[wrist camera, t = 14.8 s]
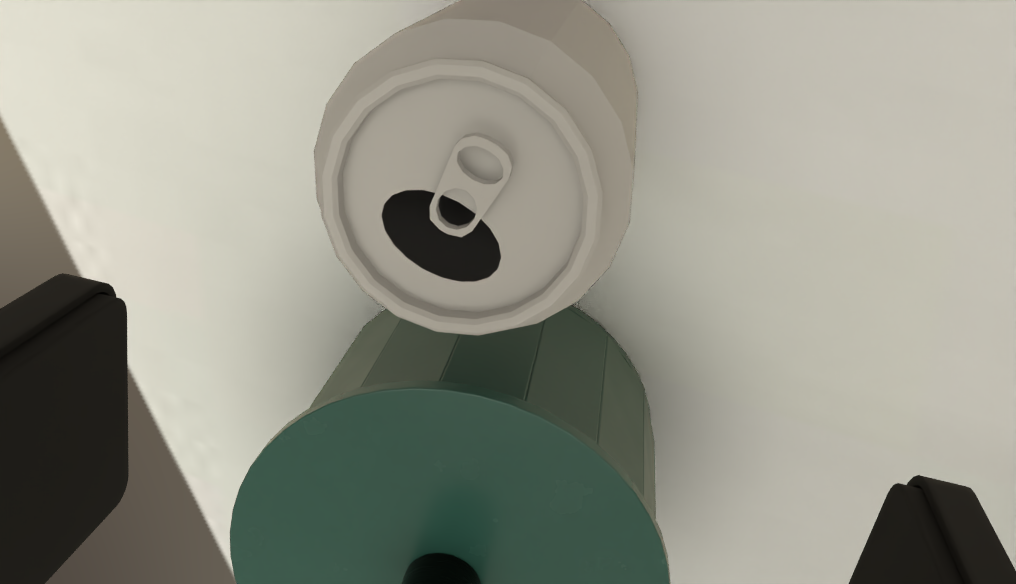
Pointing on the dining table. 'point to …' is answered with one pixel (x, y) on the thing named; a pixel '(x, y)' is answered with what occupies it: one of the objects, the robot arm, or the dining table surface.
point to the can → (482, 163)
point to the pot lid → (440, 496)
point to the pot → (520, 376)
